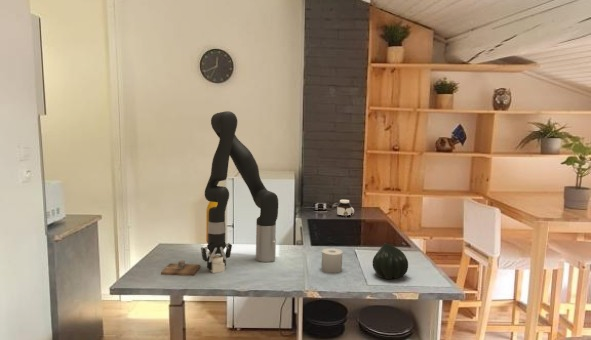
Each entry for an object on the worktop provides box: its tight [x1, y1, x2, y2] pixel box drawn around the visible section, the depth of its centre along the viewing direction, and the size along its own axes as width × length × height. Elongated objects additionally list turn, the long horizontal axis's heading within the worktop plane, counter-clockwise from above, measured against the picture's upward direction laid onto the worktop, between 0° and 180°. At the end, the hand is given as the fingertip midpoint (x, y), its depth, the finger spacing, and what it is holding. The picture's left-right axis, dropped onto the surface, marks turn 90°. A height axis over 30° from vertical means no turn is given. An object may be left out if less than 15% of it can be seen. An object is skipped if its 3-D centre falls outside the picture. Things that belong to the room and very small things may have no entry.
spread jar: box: [336, 199, 355, 216], centre depth 297 cm, size 12×11×12 cm
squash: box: [372, 243, 409, 280], centre depth 180 cm, size 14×15×15 cm
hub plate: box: [160, 260, 202, 277], centre depth 180 cm, size 14×11×4 cm
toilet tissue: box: [320, 247, 344, 274], centre depth 187 cm, size 9×13×9 cm
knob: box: [209, 254, 226, 274], centre depth 181 cm, size 6×6×6 cm
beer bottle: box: [206, 201, 218, 244], centre depth 222 cm, size 9×9×29 cm
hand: (216, 268), depth 181 cm, fingers closed on knob, 5 cm apart
